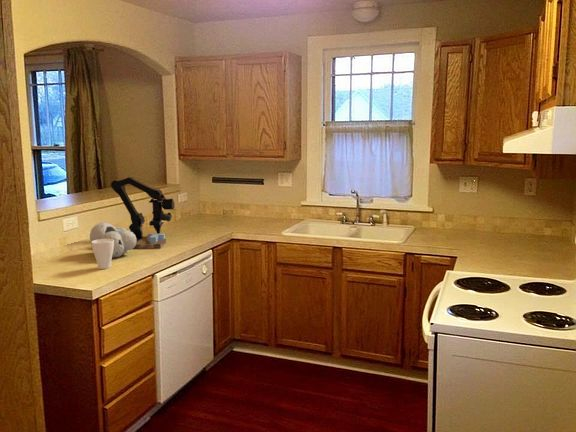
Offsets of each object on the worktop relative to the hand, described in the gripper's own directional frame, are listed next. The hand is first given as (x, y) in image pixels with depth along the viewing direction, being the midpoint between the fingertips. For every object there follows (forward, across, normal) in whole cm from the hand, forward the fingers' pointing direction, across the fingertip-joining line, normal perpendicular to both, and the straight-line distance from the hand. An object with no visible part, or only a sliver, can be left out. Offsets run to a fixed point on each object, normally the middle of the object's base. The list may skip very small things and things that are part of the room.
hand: (158, 234), depth 329 cm
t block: (+3, -11, 0) cm, 11 cm away
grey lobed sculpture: (+3, -43, +15) cm, 46 cm away
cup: (+3, -70, +10) cm, 71 cm away
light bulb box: (+3, -22, +19) cm, 29 cm away
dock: (+3, -22, 0) cm, 22 cm away
